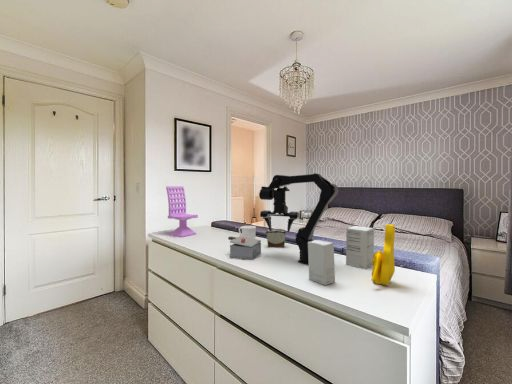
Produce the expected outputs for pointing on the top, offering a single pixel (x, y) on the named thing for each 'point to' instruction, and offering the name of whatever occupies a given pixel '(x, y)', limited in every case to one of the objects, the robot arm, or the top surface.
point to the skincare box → (321, 261)
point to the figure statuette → (384, 259)
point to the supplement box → (359, 246)
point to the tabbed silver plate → (244, 241)
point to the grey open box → (245, 251)
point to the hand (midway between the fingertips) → (279, 231)
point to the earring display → (182, 217)
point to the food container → (276, 238)
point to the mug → (248, 231)
